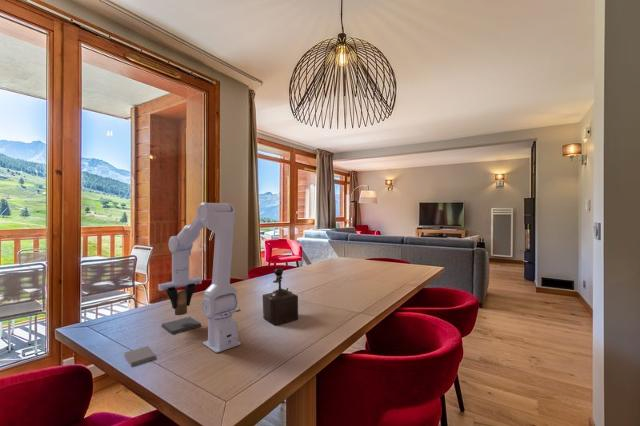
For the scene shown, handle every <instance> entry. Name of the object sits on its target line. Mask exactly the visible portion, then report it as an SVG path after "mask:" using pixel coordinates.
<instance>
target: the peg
mask: <svg viewBox="0 0 640 426" xmlns="http://www.w3.org/2000/svg"><path fill="white" fill-rule="evenodd" d="M176 303H177V308H176V309H174V316H182V315H186V314H187V313H188V306H187V290H185V289H178V290H177V298H176Z"/></svg>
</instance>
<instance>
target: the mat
mask: <svg viewBox="0 0 640 426" xmlns="http://www.w3.org/2000/svg"><path fill="white" fill-rule="evenodd" d="M201 326H202V323H201V322H199V321H198V320H196V319H195V318H192V317H191V316H188V317H184V318H180V319H175V320H171V321H167V322H163V323H161V327H162V328H163V329H164V330H165V331H167V332H168V333H169V334H171V335H173V334H177V333H180V332H185V331H188V330H191V329H195V328H199V327H201Z"/></svg>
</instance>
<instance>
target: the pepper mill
mask: <svg viewBox="0 0 640 426" xmlns="http://www.w3.org/2000/svg"><path fill="white" fill-rule="evenodd" d="M273 273H274V275H275V276H276V277H275V279H274V280H273V281H272V283H274V284H278V289H275V290H274V291H272V292H269V293H265V294H264V293H263V294H262V314H263V315H262V318H263V320H265V321H266V322H267V323H269V324H270V325H273V326H275V327H276V326H280V325H284V324H288V323H293V322H296V321H299V295H298V294H295V293H293V292H292V291H290V290H289V287H287V288H286V289H283V288H282V279H283V273H284V270H283V268H281V267H280V268H279V267H278V268H275V269H274V272H273Z"/></svg>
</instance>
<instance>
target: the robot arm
mask: <svg viewBox="0 0 640 426" xmlns="http://www.w3.org/2000/svg"><path fill="white" fill-rule="evenodd" d="M196 214H197V215H196V216H195V218H194V219H193V221H192V223H191V224H186V225H184V227H183V228H181V231H179V233H178V234H177V235H173V236H172V235H171V236H170V237H169V239H168V250H169V251H170V252H171V281H168V282H164V283H158V284H157V290H158V291H160V292H161V291H164V290H165V293H166V294H167V295H168V298H169V300H170V303H171V308H172V309H173V310H175V309H176V308H177V303H176V298H177V291H178V290H177V289H176V288H182V287H184V290H187V307H189V306H190V305H191V301H192V297H193V295H194V292H195V291H196V289H197V285H200V284H202V282H203V278H201V277H195V278H190V257H191V254H192V249H193V243H194V242H195V241H196V240H197V239H198V238H199V237H200V235H201V231H202V229H204V228H205V227H206V228H207V229H208V230H209V231H212V232H213V233H214V245H213V246H214V249H213V264H212V275H211V276H212V277H211V284H210V285H209V286H208V287H207V288H206V289H205V290H204V293H203V299H202V300H201V304H200V305H201V307H200V308H201V312H202V314H203V316H205V318H207V340H205V341H202V344H203V345H204V346H206V347H208V349H210V350H212V351H213V352H215V353H216V354H217V353H220V352H224V351H226V350H229V349H231V348H234V347H237V346H240V345H241V342H240V341H239V331H238V329H239V326H238V323H237V321H236V320H235V319H234V317H233V314H235V312H234V310H235V309H236V308H237V307H238V305H239V298H238V289H237V288H236V287H235V286H234V285H232V284H231V274H232V273H231V272H232V271H231V270H232V261H233V260H232V256H233V246H234V245H233V244H234V243H233V242H234V229H235V223H236V209H235V208H234V206H233V204H232V203H229V202H225V203H223V202H204V201H203V202H201V203H200V204H199V206H198V207H197V209H196Z"/></svg>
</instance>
